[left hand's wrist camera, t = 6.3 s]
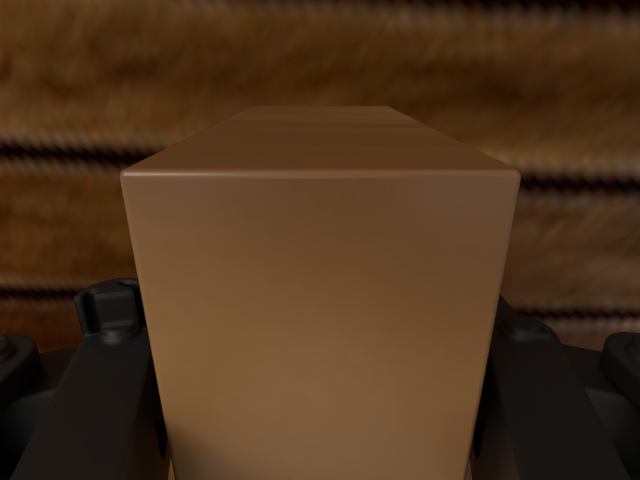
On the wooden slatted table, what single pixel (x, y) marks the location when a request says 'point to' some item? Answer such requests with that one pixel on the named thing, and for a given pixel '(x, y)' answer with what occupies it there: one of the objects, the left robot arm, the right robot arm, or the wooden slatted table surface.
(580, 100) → the wooden slatted table surface
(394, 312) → the bar
